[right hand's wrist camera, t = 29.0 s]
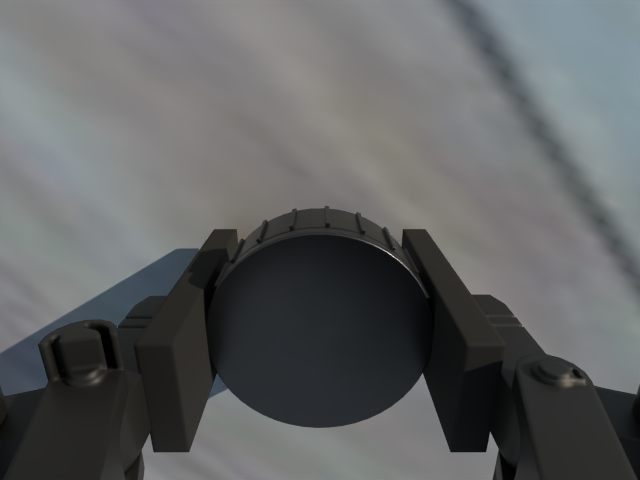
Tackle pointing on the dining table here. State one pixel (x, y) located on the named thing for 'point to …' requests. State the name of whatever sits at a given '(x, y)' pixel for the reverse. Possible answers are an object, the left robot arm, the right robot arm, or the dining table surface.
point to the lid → (319, 319)
